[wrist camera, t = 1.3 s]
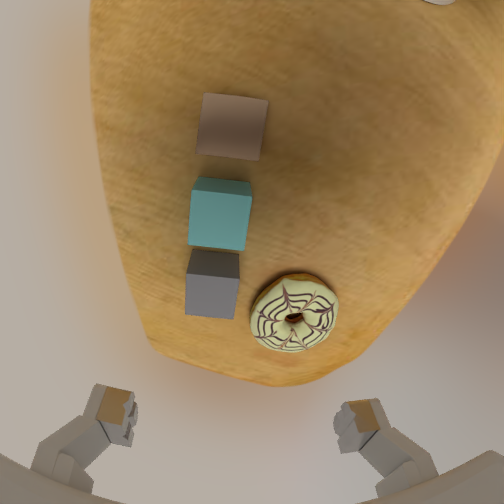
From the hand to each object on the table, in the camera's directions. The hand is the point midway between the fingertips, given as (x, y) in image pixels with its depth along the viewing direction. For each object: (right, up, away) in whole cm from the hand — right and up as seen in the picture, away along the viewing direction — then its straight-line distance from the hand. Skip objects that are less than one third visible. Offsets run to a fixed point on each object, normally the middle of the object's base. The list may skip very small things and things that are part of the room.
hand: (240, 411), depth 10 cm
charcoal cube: (-4, +4, +23) cm, 23 cm away
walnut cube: (-1, +18, +15) cm, 24 cm away
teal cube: (-3, +11, +19) cm, 22 cm away
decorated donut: (+5, -1, +26) cm, 27 cm away
